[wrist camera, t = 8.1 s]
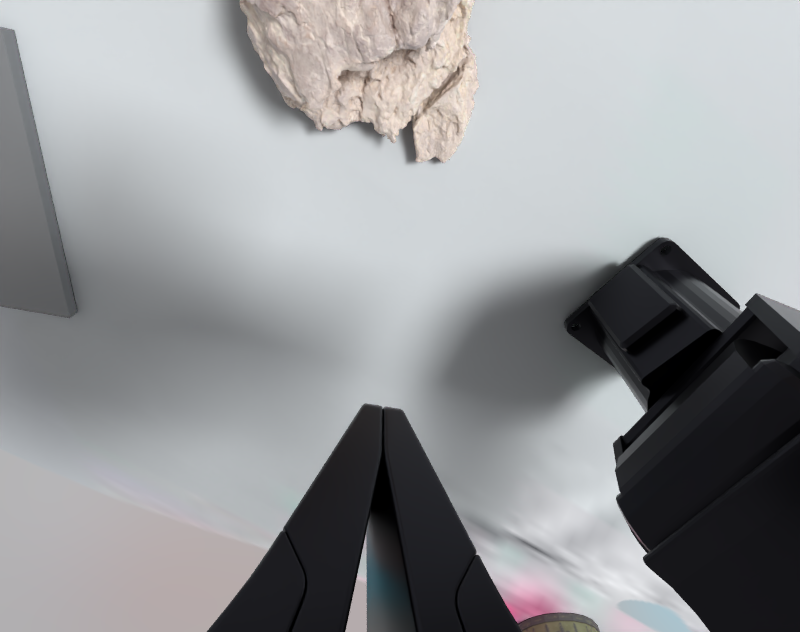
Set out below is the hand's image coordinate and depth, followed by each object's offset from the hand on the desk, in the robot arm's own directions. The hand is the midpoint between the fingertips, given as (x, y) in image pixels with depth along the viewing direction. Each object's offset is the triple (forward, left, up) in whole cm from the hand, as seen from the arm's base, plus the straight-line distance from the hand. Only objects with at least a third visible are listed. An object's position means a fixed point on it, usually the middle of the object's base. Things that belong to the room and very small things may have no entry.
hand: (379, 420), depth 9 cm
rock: (+6, -6, -14) cm, 16 cm away
